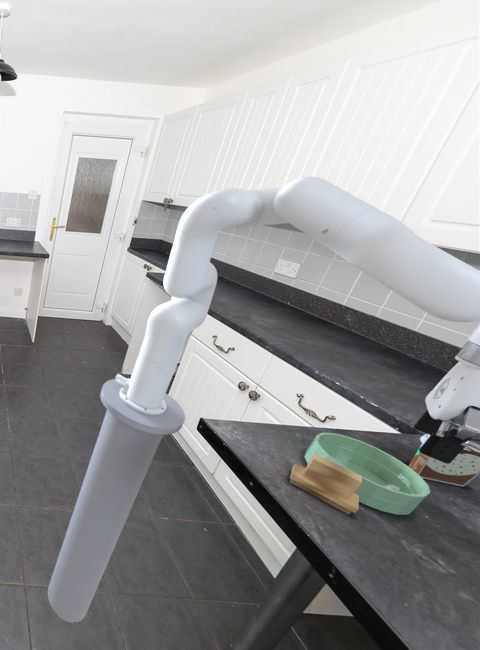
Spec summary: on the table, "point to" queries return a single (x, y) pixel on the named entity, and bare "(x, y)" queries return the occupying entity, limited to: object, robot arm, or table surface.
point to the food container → (449, 465)
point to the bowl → (373, 473)
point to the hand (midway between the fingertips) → (429, 444)
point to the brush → (328, 483)
